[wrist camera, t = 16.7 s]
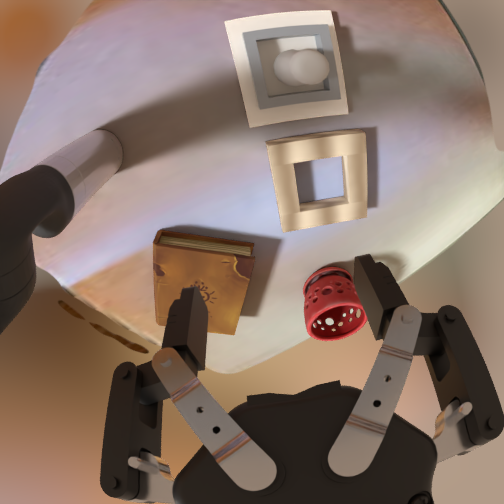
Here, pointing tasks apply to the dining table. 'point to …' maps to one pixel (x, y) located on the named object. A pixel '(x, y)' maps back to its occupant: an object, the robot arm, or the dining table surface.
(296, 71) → the salt shaker
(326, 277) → the plant pot
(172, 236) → the diary
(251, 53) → the socket plate
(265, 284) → the dining table surface
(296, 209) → the birch holder block
